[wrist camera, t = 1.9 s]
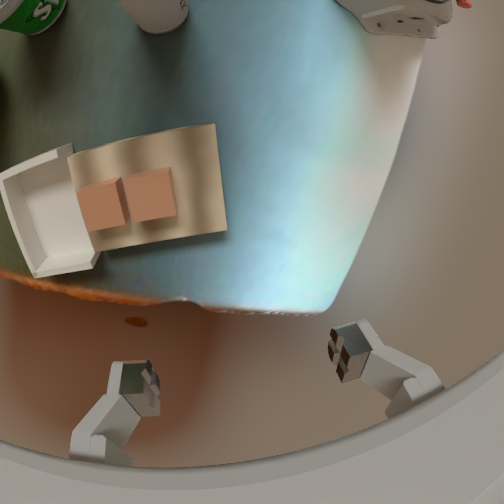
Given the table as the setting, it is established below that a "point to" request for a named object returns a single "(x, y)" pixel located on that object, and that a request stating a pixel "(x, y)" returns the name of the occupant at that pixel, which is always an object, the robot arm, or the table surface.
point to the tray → (47, 214)
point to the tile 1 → (104, 204)
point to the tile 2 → (151, 194)
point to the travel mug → (157, 14)
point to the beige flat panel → (183, 174)
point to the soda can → (29, 15)
